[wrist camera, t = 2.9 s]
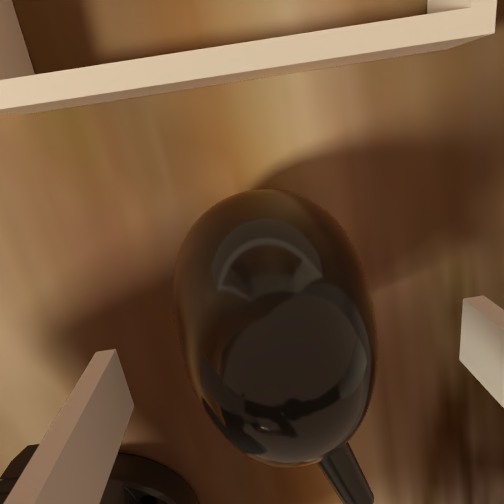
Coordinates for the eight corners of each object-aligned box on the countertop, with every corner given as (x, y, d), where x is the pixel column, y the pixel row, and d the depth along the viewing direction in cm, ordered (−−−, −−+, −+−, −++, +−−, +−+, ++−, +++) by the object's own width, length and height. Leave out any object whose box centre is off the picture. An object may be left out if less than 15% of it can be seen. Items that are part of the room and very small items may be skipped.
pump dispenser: (237, 347, 27) (242, 603, 13) (153, 231, 24) (31, 398, 9) (361, 279, 26) (526, 480, 11) (291, 147, 22) (395, 191, 8)
